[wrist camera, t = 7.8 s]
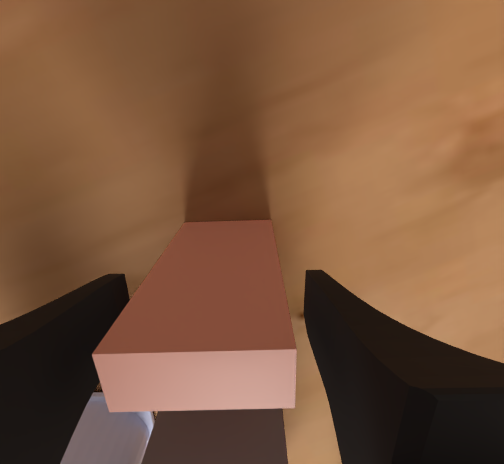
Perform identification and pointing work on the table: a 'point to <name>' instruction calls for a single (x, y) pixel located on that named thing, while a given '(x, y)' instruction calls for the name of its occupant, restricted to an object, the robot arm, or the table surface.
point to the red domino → (204, 327)
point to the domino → (217, 437)
